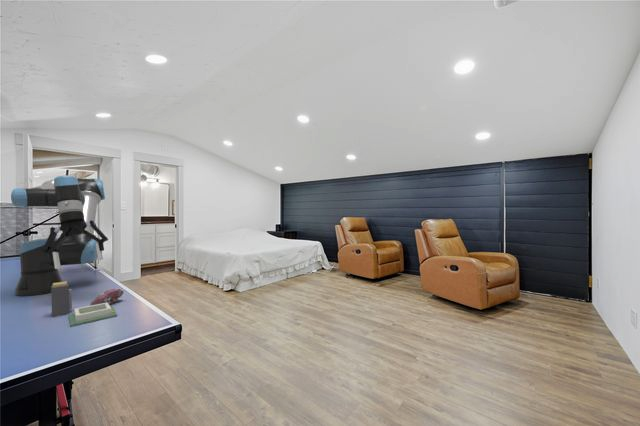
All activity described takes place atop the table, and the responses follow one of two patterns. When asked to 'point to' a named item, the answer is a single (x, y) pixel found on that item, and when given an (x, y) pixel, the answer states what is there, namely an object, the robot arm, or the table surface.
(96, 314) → the green square tray
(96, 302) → the video game controller
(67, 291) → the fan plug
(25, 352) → the table surface
